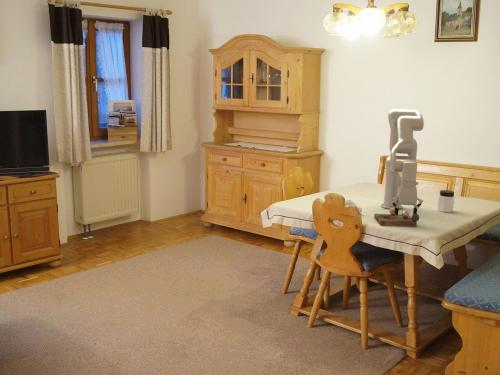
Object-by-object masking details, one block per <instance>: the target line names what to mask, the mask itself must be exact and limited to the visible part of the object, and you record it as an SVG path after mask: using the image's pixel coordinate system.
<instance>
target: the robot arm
mask: <svg viewBox="0 0 500 375" xmlns="http://www.w3.org/2000/svg"><path fill="white" fill-rule="evenodd" d="M387 115H388V116H387V117H388V118H387V119H388V124H389V129H390V133H389V148H388V149H389V151H390V155H389V156H387V157H386V158H385V182H384V183H385V185H384V194H383V195H384V196H383V199H384V200H383V203H381V205H380V207H381V208H382V209H383V208H384V209H388V210H390V209H391V208H395V214H396V215H398V214H399V211H400V210H401V209H403V206H413V209H412V210H413V212H412V215H413V214H418V209H419V208H420V207H421V206H422V204H423V203H424V200H422V199H421V198H419V197H418V188H417V185H419V181H418V182H417V172H418V170H417V169H418V162H417V155H418V153H417V152H418V143H417V140H416V138H414V132H421V131H423V129H424V126H425V121H424V118H423V115H422V113H421V112H420V110H418V109H413V108H412V109H410V108H393V109H391V110H389V112H388V114H387ZM397 154H402V155H397ZM404 154H406V155H404ZM399 173H401V174H399Z"/></svg>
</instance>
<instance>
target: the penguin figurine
mask: <svg viewBox="0 0 500 375" xmlns="http://www.w3.org/2000/svg"><path fill="white" fill-rule="evenodd" d="M345 202H346V205H353V206H356V207H358V208H359V210H360V212H361V213H362V212H363V208H362V207H361V206H359V205H357V204H356V202H354V201H353V200H352V199H351V198H348V197H345Z"/></svg>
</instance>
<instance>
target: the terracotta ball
mask: <svg viewBox="0 0 500 375" xmlns="http://www.w3.org/2000/svg"><path fill="white" fill-rule="evenodd" d="M389 214H391V215H395V208H391V209H389Z"/></svg>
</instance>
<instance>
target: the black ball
mask: <svg viewBox="0 0 500 375" xmlns="http://www.w3.org/2000/svg"><path fill="white" fill-rule="evenodd" d="M411 217H412V220H413V221H416V222H418V221H419V220H420V216H419V214H418V213H417V214H413V213H412V215H411Z"/></svg>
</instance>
